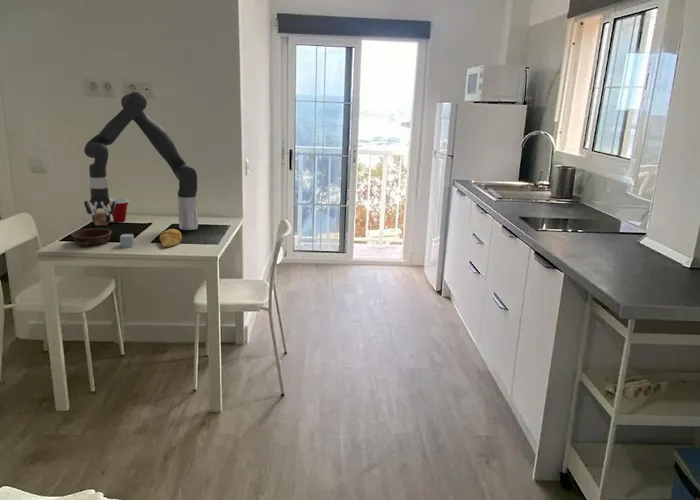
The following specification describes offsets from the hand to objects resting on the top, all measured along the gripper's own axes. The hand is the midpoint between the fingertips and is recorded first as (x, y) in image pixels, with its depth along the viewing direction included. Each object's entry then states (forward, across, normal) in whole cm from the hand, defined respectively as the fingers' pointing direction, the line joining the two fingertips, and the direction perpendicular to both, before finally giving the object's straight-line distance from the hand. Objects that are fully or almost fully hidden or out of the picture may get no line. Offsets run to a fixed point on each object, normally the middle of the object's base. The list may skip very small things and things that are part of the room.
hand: (101, 222), depth 260 cm
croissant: (+10, -31, +2) cm, 33 cm away
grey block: (+9, -12, +7) cm, 17 cm away
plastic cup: (+10, +2, -45) cm, 46 cm away
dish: (+10, +5, 0) cm, 11 cm away
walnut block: (+1, 0, 0) cm, 1 cm away
